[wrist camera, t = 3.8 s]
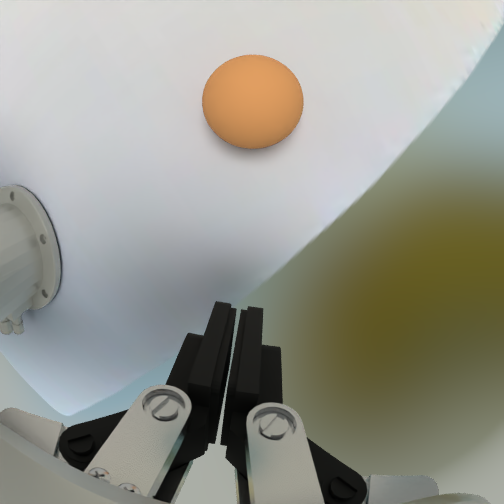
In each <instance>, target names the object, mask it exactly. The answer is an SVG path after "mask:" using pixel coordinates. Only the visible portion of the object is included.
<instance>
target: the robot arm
mask: <svg viewBox="0 0 504 504" xmlns="http://www.w3.org/2000/svg"><path fill="white" fill-rule="evenodd" d="M60 276H61V269H60V256H59V249H58V245H57V241H56V237H55V234H54V231H53V228H52V225H51V223H50V221H49V219H48V216H47V214H46V212H45V211H44V209H43V207H42V206H41V204H40V203H39V201H38V200H37V199H36V198H35V197H34V196H33V194H32V193H30V192H29V191H28V190H26V189H25V188H23V187H21V186H18V185H9V186H5V187H1V188H0V331H1V332H2V333H3V334H5V335H7V334H10V333H12V332H13V330H14V333H15V334H18V335H19V334H22V333H23V332H24V326H23V321H22V319H21V315H22V314H23V313H24V312H25V311H26V310H27V309H32V310H36V309H41V308H42V307H44V306H46V305H47V304H48V303H49V302H50V301H51V300H52V299H53V298H54V296H55V295H56V293H57V290H58V287H59V282H60ZM235 317H236V308H231V304H230V303H223V302H217V301H216V302H215V305H214V308H213V310H212V313H211V316H210V319H209V322H208V325H207V328H206V330H205V333H204V336H203V335H197V334H192V333H188V334H187V335H186V337H185V340H184V342H183V344H182V347H181V349H180V352H179V354H178V356H177V359H176V361H175V363H174V366H173V368H172V370H171V373H170V375H169V378H168V380H167V382H166V385H156V386H152V387H149V388H147V389H145V390H144V391H143V392H142V393H141V394H140V395H139V396H138V398H137V399H136V400H135V402H134V403H133V404H132V406H131V407H130V408H129V409H128V410H125V411H122V412H119V413H116V414H112V415H109V416H106V417H102V418H99V419H95V420H92V421H88V422H84V423H80V424H76V425H74V426H71V427H65V426H64V425H63V423H60V422H57V421H53V420H49V419H46V418H43V417H40V416H37V415H33V414H31V413H28V412H24V411H22V410H19V409H16V408H7V409H4V410H3V411H2V412H0V504H174V503H175V501H176V499H177V497H178V495H179V492H180V490H181V488H182V486H183V484H184V482H185V479H186V477H187V475H188V473H189V470H190V468H191V466H192V464H193V460H194V459H196V458H198V457H200V456H202V455H204V453H205V451H207V449H208V444H209V443H212V444H215V441H216V436H217V431H218V424H219V420H220V414H221V409H222V404H223V398H224V393H225V387H226V382H227V376H228V371H229V365H230V357H231V349H232V348H231V347H232V340H233V333H234V325H235ZM262 324H263V308H257V307H249V306H248V309H247V310H241V314H240V320H239V325H238V331H237V337H236V342H235V348H234V353H233V359H232V364H231V370H230V376H229V381H228V387H227V394H226V402H225V410H224V419H223V427H222V435H221V443H220V444H221V445H225V446H227V450H226V457H225V458H226V459H227V460H228V461H229V462H230V463H231V464H232V465H233V466H234V467H235V482H236V494H237V504H490V503H489V502H488V501H487V500H486V499H485V498H483V497H481V496H478V495H473V494H466V493H452V494H442V495H439V490H438V486H437V483H436V482H435V481H434V480H433V479H432V478H430V477H428V476H423V475H419V476H418V475H417V476H389V475H370V476H369V477H362V476H361V475H359V474H358V473H357V472H356V471H354V470H352V469H351V468H349V467H348V466H346V465H345V464H343V463H342V462H340V461H339V460H338V459H336V458H335V457H333V456H332V455H330V454H329V453H327V452H326V451H324V450H323V449H322V448H321V447H319V446H318V445H316V444H315V443H314V442H312V441H311V440H310V439H308V438H307V437H306V434H305V431H304V427H303V423H302V420H301V418H300V416H299V415H298V414H297V413H296V412H295V410H293V409H292V408H290V407H288V406H286V405H283V399H282V368H281V348H280V347H275V346H268V345H262Z"/></svg>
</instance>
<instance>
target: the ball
mask: <svg viewBox="0 0 504 504" xmlns="http://www.w3.org/2000/svg"><path fill="white" fill-rule="evenodd" d="M202 106H203V112H204V115H205V118H206V120H207V123H208V124H209V126H210V127H211V129H212V130H213V131H214V132H215V133H216V134H217V135H218V136H219V137H220V138H221V139H223V140H224V141H226V142H228V143H230V144H232V145H235V146H238V147H242V148H249V149H257V148H264V147H268V146H271V145H274V144H276V143H278V142H280V141H282V140H283V139H284V138H286V137H287V136H288V135H289V134H290V133H291V132H292V131H293V130H294V128H295V127H296V125H297V124H298V122H299V120H300V117H301V115H302V111H303V93H302V89H301V86H300V84H299V82H298V80H297V78H296V77H295V75H294V74H293V73H292V72H291V70H290V69H288V68H287V67H286V66H285V65H283V64H282V63H280V62H279V61H277V60H275V59H272V58H270V57H266V56H262V55H244V56H239V57H236V58H233V59H231V60H229V61H227V62H225V63H224V64H222V65H221V66H219V67H218V68H217V69H216V70H215V71H214V72H213V74H212V75H211V76H210V78H209V79H208V81H207V83H206V85H205V88H204V91H203V97H202Z"/></svg>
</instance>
